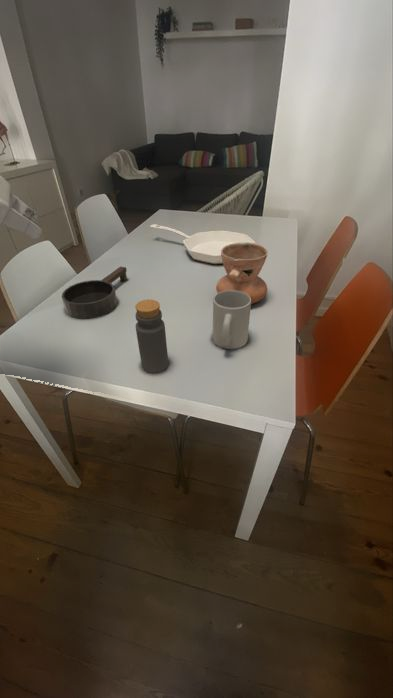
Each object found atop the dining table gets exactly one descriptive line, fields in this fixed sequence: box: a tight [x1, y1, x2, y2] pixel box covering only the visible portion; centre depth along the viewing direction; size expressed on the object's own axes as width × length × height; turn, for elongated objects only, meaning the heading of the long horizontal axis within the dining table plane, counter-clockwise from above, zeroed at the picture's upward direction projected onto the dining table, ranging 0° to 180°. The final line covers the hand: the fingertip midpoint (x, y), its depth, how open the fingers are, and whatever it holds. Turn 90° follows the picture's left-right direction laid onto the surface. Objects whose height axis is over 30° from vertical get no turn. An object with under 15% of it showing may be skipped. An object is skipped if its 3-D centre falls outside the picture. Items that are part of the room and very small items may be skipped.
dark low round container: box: [61, 279, 118, 320], centre depth 90 cm, size 14×14×4 cm
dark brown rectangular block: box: [100, 266, 128, 284], centre depth 99 cm, size 2×11×4 cm, turn 159°
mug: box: [211, 290, 252, 350], centre depth 72 cm, size 12×8×11 cm
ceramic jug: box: [215, 242, 268, 305], centre depth 89 cm, size 18×14×14 cm
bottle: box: [134, 298, 169, 374], centre depth 65 cm, size 6×6×15 cm
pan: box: [149, 223, 257, 265], centre depth 122 cm, size 25×44×6 cm, turn 59°
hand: (37, 226), depth 47 cm, fingers open, 8 cm apart
